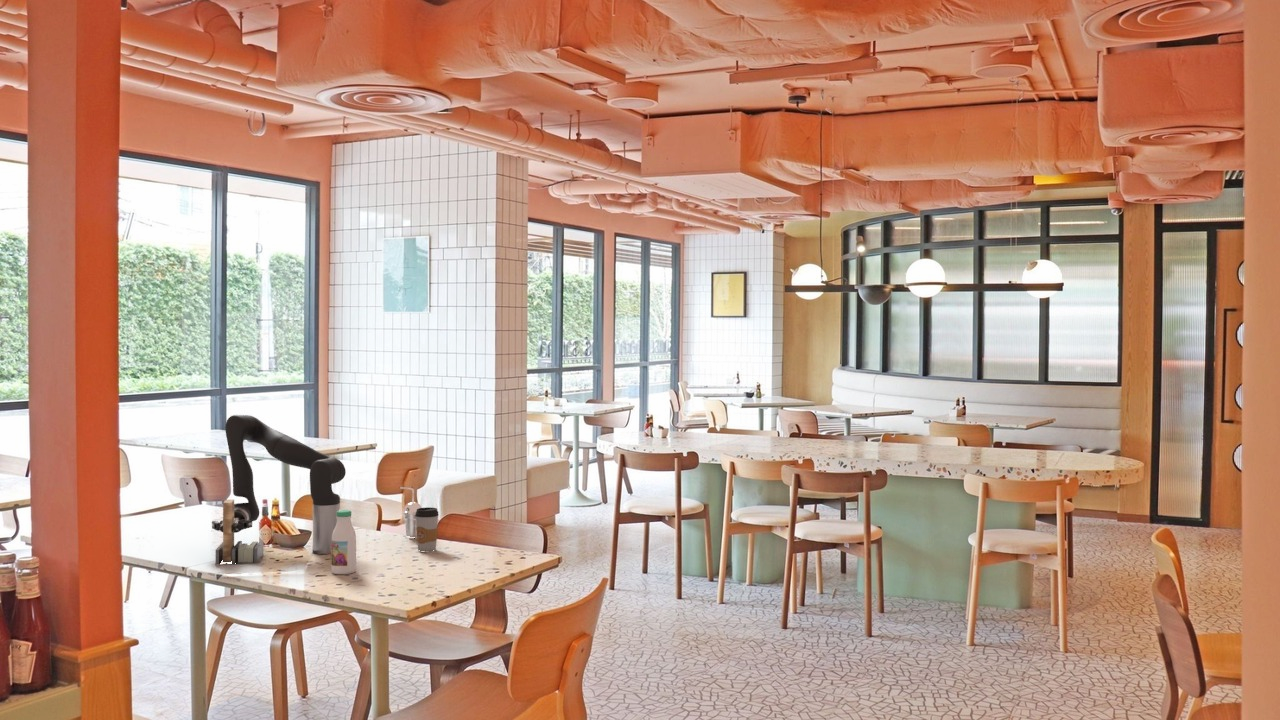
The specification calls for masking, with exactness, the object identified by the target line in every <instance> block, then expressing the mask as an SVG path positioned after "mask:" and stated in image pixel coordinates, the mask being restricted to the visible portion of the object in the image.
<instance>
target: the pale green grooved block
mask: <svg viewBox="0 0 1280 720" xmlns="http://www.w3.org/2000/svg"><path fill="white" fill-rule="evenodd" d="M258 543H259V542H258V541H257V540H256V541H251V543H250V544H248V543H242V545H241V546H240V547H239V549H238V562H254V548H255V547H256V545H257V544H258Z"/></svg>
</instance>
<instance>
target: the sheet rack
mask: <svg viewBox="0 0 1280 720" xmlns="http://www.w3.org/2000/svg"><path fill="white" fill-rule="evenodd" d="M242 544H243V542H242V540H238V541H237V542H236V544H234V547H233V548H232V564H231V565H246V564H247V565H250V564H251V565H252V564H258V563H259V562H260V560H261V559H262V557H263V556H264V539H260V540H259V542H258V544H257V545H256V547H255V548H254V562H238V549H239V547H240V546H241V545H242ZM222 560H223V541H222V542H221V543H220V544H219V545H218V546H217V548H215V565H216V564H220V563H221V561H222ZM235 563H236V564H235Z"/></svg>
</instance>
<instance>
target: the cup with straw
mask: <svg viewBox="0 0 1280 720" xmlns="http://www.w3.org/2000/svg"><path fill="white" fill-rule="evenodd" d="M398 489H399V490H409V491H411V502H410V501H409V502H408V503H406V504H405V505H404V507H403V509H402V510H401V514H403V520H404V524H405V525H404V527H405V534H406V537H407V536H410V537H415V538H417V533H416V516H415V513H416V511H417V509H418V508H423V507H422V506H421V504H420V503H418V502H417V501H415V489H414V488H413V487H405V486H399V488H398ZM409 540H415V539H414V538H409Z"/></svg>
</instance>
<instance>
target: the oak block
mask: <svg viewBox="0 0 1280 720" xmlns="http://www.w3.org/2000/svg"><path fill="white" fill-rule="evenodd" d="M234 504H235V499H225V500H224V501H223V502H222V520H223V532H222V542H223V562H231V561H232V548H233V547H234V546H235V533H234V532H231V526H232V524H234Z"/></svg>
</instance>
